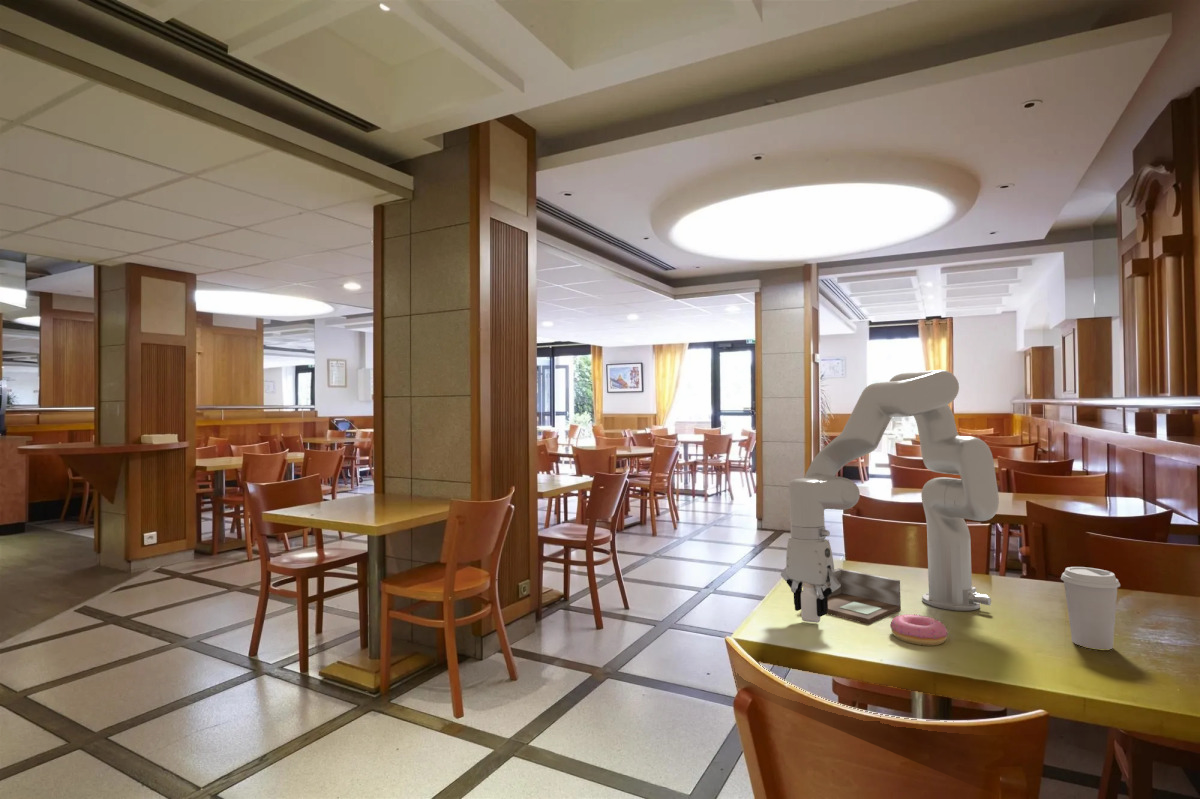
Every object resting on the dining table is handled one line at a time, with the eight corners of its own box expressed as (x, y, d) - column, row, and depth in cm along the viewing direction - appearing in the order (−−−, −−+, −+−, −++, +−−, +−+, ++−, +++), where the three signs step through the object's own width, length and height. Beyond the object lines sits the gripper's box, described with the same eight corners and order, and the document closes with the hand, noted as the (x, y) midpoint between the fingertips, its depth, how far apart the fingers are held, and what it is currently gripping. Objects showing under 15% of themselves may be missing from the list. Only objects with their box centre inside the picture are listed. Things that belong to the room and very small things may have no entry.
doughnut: (954, 638, 130) (954, 618, 130) (939, 652, 122) (938, 632, 122) (900, 626, 138) (900, 607, 138) (882, 639, 130) (882, 619, 130)
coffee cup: (1127, 657, 118) (1124, 579, 119) (1065, 648, 123) (1063, 573, 124) (1117, 641, 126) (1115, 569, 127) (1060, 633, 131) (1058, 563, 132)
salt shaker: (801, 622, 138) (800, 580, 139) (802, 616, 142) (800, 575, 142) (820, 623, 137) (818, 581, 137) (820, 617, 141) (818, 576, 141)
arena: (900, 609, 149) (899, 580, 149) (868, 624, 139) (867, 592, 139) (839, 595, 161) (838, 568, 161) (805, 608, 151) (805, 578, 151)
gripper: (851, 535, 136) (854, 617, 135) (785, 526, 149) (788, 600, 148) (833, 540, 131) (836, 625, 131) (766, 530, 144) (769, 607, 144)
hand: (810, 611), depth 140 cm, fingers closed on salt shaker, 5 cm apart
